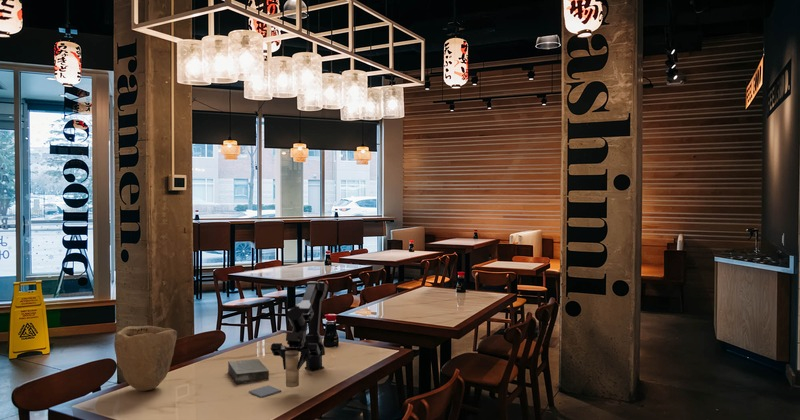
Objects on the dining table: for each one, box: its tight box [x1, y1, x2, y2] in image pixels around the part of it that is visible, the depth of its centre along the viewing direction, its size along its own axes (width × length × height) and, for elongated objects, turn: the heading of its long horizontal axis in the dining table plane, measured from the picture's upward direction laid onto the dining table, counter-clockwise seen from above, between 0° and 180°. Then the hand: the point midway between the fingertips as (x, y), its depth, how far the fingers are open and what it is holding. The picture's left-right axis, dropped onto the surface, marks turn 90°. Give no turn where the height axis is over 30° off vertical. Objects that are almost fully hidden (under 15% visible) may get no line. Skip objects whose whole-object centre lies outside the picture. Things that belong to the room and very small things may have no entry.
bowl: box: [113, 325, 178, 392], centre depth 215 cm, size 22×22×25 cm
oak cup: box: [285, 350, 300, 388], centre depth 208 cm, size 5×5×13 cm
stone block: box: [227, 358, 270, 385], centre depth 232 cm, size 14×20×5 cm
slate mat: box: [248, 385, 282, 399], centre depth 211 cm, size 9×9×1 cm
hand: (291, 369), depth 207 cm, fingers closed on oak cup, 5 cm apart
